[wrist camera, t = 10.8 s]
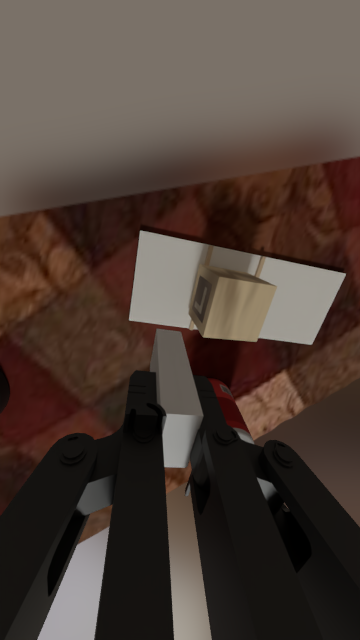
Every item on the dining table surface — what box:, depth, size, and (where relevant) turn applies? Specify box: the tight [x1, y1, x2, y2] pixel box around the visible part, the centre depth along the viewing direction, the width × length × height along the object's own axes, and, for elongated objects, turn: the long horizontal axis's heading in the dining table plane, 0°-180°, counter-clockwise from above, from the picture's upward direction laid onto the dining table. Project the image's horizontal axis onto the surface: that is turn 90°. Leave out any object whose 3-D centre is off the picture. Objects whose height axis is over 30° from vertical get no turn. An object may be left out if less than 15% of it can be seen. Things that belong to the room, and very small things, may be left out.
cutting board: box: [129, 230, 346, 345], centre depth 32 cm, size 30×12×1 cm, turn 78°
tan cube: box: [188, 264, 277, 342], centre depth 28 cm, size 7×7×7 cm
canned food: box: [207, 378, 254, 444], centre depth 34 cm, size 8×8×11 cm
